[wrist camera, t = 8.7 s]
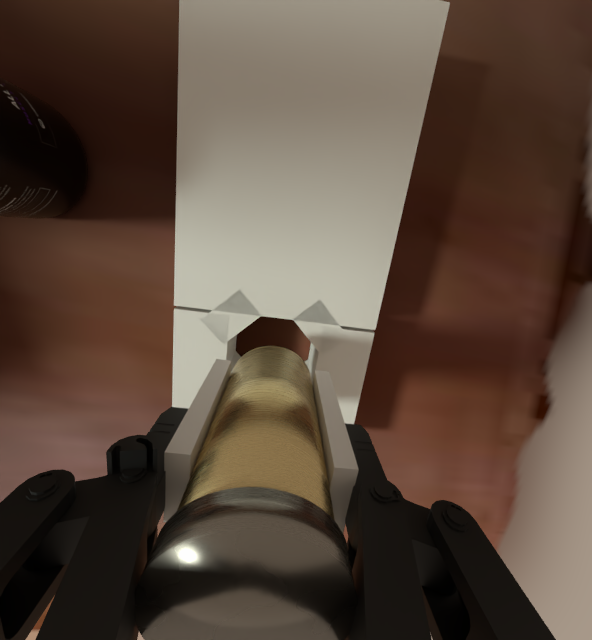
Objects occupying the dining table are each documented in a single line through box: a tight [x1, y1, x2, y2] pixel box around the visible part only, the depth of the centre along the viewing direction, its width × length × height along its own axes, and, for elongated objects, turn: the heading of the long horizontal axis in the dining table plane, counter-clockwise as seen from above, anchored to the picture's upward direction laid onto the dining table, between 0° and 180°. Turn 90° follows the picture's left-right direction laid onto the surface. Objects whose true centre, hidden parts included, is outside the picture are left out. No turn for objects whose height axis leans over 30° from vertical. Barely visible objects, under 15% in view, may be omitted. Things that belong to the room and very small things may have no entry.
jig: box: [172, 0, 450, 424], centre depth 18 cm, size 12×26×4 cm, turn 172°
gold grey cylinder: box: [135, 346, 357, 640], centre depth 11 cm, size 5×5×10 cm
